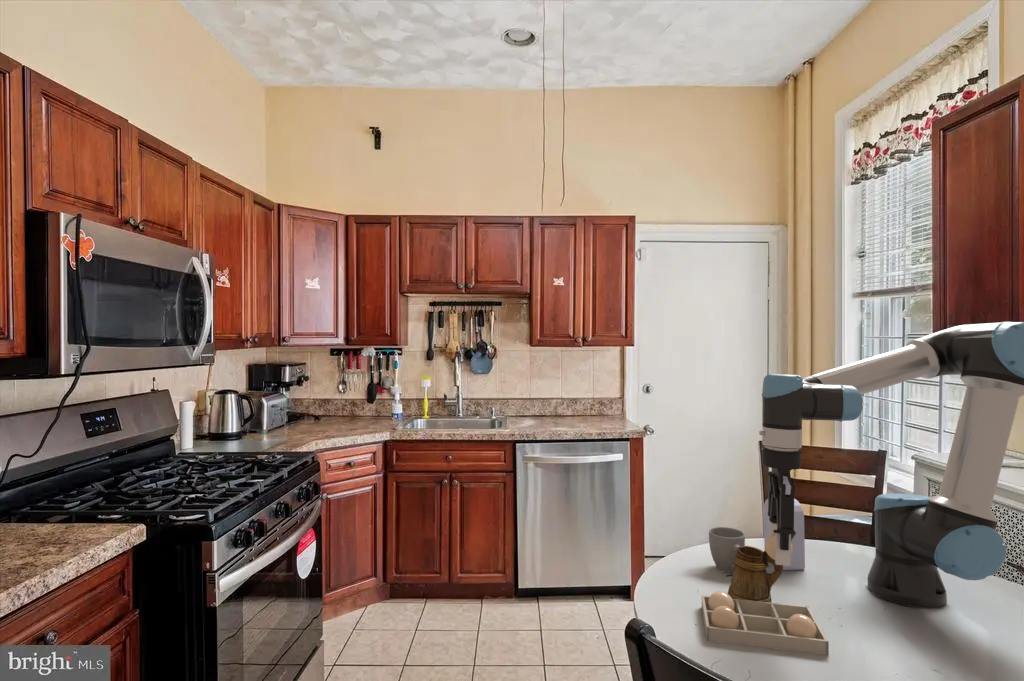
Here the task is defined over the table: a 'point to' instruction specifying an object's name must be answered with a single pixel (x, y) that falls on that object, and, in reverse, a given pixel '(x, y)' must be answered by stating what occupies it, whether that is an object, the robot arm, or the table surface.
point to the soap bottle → (797, 541)
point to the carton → (765, 627)
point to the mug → (725, 546)
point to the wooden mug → (753, 574)
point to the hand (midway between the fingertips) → (779, 559)
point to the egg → (772, 546)
